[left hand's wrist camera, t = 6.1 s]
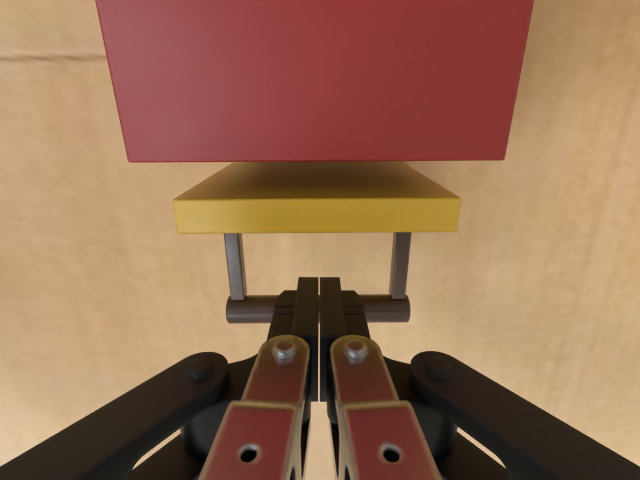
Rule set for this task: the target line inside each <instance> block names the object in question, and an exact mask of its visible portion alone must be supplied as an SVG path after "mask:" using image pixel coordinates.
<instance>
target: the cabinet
mask: <svg viewBox="0 0 640 480" xmlns="http://www.w3.org/2000/svg"><path fill="white" fill-rule="evenodd" d="M95 1H96V6H97V10H98V15H99V20H100V25H101V30H102V35H103V40H104V45H105V50H106V55H107V60H108V65H109V69H110V74H111V79H112V84H113V89H114V94H115V99H116V104H117V109H118V114H119V119H120V123H121V128H122V133H123V138H124V143H125V148H126V153H127V158H128V161H129V162H297V161H475V160H504V158H505V153H506V148H507V143H508V137H509V132H510V126H511V121H512V116H513V110H514V105H515V100H516V94H517V89H518V83H519V78H520V73H521V67H522V62H523V57H524V51H525V46H526V40H527V35H528V30H529V24H530V19H531V14H532V8H533V3H534V0H95Z"/></svg>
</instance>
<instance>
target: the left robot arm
mask: <svg viewBox="0 0 640 480" xmlns="http://www.w3.org/2000/svg"><path fill="white" fill-rule="evenodd" d="M311 401H318V277H299V279H298V287H297V290H284V291H283V292H282V293H281V294H280V295H279V296H278V297H277V299H276V303H275V308H274V312H273V316H272V320H271V325H270V329H269V333H268V337H267V341H266V342H265V343H263V345H262V346H261V347H260V349H259V352H258V354H256V355H255V356H253V357H251V358H248V359H246V360H242V361H238V362H234V363H230V364H228V362H227V360H226V358H225V357H224V356H223V355H221V354H218V353H215V352H201V353H197V354H193V355H191V356H188V357H187V358H185V359H183V360H181V361H180V362H178V363H176V364H174V365H173V366H171V367H169V368H168V369H166V370H164V371H162V372H161V373H159V374H157V375H156V376H154V377H152V378H151V379H149V380H147V381H145V382H144V383H142V384H140V385H139V386H137V387H135V388H134V389H132V390H130V391H128V392H127V393H125V394H123V395H122V396H120V397H118V398H116V399H115V400H113V401H111V402H110V403H108V404H106V405H105V406H103V407H101V408H99V409H98V410H96V411H94V412H93V413H91V414H89V415H88V416H86V417H84V418H82V419H81V420H79V421H77V422H76V423H74V424H72V425H70V426H69V427H67V428H65V429H64V430H62V431H60V432H59V433H57V434H55V435H53V436H52V437H50V438H48V439H47V440H45V441H43V442H42V443H40V444H38V445H36V446H35V447H33V448H31V449H30V450H28V451H26V452H24V453H23V454H21V455H19V456H18V457H16V458H14V459H13V460H11V461H9V462H7V463H6V464H4V465H2V466H1V467H0V480H305V472H306V463H307V454H308V446H309V437H310V429H311ZM320 402H327V415H328V418H329V429H330V437H331V446H332V454H333V463H334V472H335V480H640V467H639V466H638V465H636V464H634V463H633V462H631V461H629V460H627V459H626V458H624V457H622V456H621V455H619V454H617V453H615V452H614V451H612V450H610V449H609V448H607V447H605V446H604V445H602V444H600V443H598V442H597V441H595V440H593V439H592V438H590V437H588V436H587V435H585V434H583V433H581V432H580V431H578V430H576V429H575V428H573V427H571V426H569V425H568V424H566V423H564V422H563V421H561V420H559V419H558V418H556V417H554V416H552V415H551V414H549V413H547V412H546V411H544V410H542V409H541V408H539V407H537V406H535V405H534V404H532V403H530V402H529V401H527V400H525V399H523V398H522V397H520V396H518V395H517V394H515V393H513V392H512V391H510V390H508V389H506V388H505V387H503V386H501V385H500V384H498V383H496V382H495V381H493V380H491V379H489V378H488V377H486V376H484V375H483V374H481V373H479V372H478V371H476V370H474V369H472V368H471V367H469V366H467V365H466V364H464V363H462V362H460V361H459V360H457V359H455V358H454V357H452V356H450V355H447V354H445V353H441V352H436V351H426V352H421V353H419V354H417V355H415V356H414V357H413V359H412V360H411V364H407V363H403V362H399V361H395V360H391V359H389V358H387V357H385V356H383V355H382V352H381V349H380V347H379V346H378V345H377V343H375V342H374V341H373V340H371V338H370V334H369V329H368V325H367V320H366V316H365V311H364V308H363V302H362V298H361V297H360V296H359V295H358V294H357V293H356V292H355V291H354V290H341V285H340V278H339V277H320ZM458 427H459V428H461V429H462V430H463V431H465V432H466V433H467V434H469V435H470V436H471V437H473V438H474V439H475V440H477V441H478V442H479V443H481V444H482V445H483V446H485V447H486V448H487V449H489V450H490V451H491V452H493V453H494V454H495V455H496V456H497V457H498V458H499V459H500V460H501V461H502V462H503V464H504V466H505V467H506V468H504V467H503V466H502V465H500V464H499V463H498V462H496V461H495V460H494V459H492V458H491V457H490V456H488V455H487V454H486V453H485V452H483V451H482V450H481V449H479V448H478V447H477V446H475V445H474V444H473V443H471V442H470V441H469V440H467V439H466V438H465V437H463V436H462V435H461V434H459V433H458V432H457V428H458ZM179 428H180V431H181V434H179V435H178V436H177V437H175V438H174V439H173V440H171V441H170V442H169V443H167V444H166V445H165V446H163V447H162V448H161V449H159V450H158V451H157V452H155V453H154V454H153V455H152V456H150V457H149V458H148V459H146V460H145V461H144V462H142V463H141V464H140V465H138V466H137V467H136V468H134V469H133V467H134V465H135V464H136V463H137V461H138V460H139V459H140V458H141V457H142V456H143V455H145V454H146V453H147V452H149V451H150V450H151V449H153V448H154V447H155V446H157V445H158V444H159V443H161V442H162V441H163V440H165V439H166V438H167V437H169V436H170V435H171V434H173V433H174V432H175V431H177V430H178V429H179ZM132 469H133V470H132Z"/></svg>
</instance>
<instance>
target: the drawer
mask: <svg viewBox="0 0 640 480" xmlns="http://www.w3.org/2000/svg"><path fill="white" fill-rule="evenodd" d="M460 205H461V198H460V197H458V196H457V195H455V194H454V193H452V192H450V191H449V190H447V189H445V188H444V187H442V186H441V185H439V184H437V183H436V182H434V181H432V180H431V179H429V178H428V177H426V176H424V175H423V174H421V173H419V172H418V171H416V170H415V169H413V168H411V167H410V166H408V165H406V164H405V163H403V162H287V163H232V164H230V165H228V166H227V167H225V168H223V169H222V170H220V171H219V172H217V173H215V174H214V175H212V176H211V177H209V178H207V179H206V180H204V181H202V182H201V183H199V184H198V185H196V186H194V187H193V188H191V189H189V190H188V191H186V192H185V193H183V194H181V195H180V196H178V197H177V198H175V199H173V207H174V213H175V220H176V226H177V232H178V233H180V234H204V233H224V240H225V249H226V258H227V267H228V276H229V284H230V293H231V296H229V298H228V300H227V304H226V318H227V322H228V323H230V324H231V323H271V320H272V316H273V312H274V308H275V303H276V299H277V297H278V296H279V295H247V287H246V276H245V266H244V255H243V244H242V233H363V232H394V235H393V248H392V261H391V274H390V287H389V293H390V294H372V295H359V296H360V297H361V298H362V302H363V308H364V311H365V316H366V320H367V323H371V322H408V321H409V319H410V302H409V298H408V296H407V295H406V294H405V293H406V282H407V272H408V262H409V251H410V241H411V232H456V231H457V226H458V219H459V212H460ZM318 323H320V295H318Z"/></svg>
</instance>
